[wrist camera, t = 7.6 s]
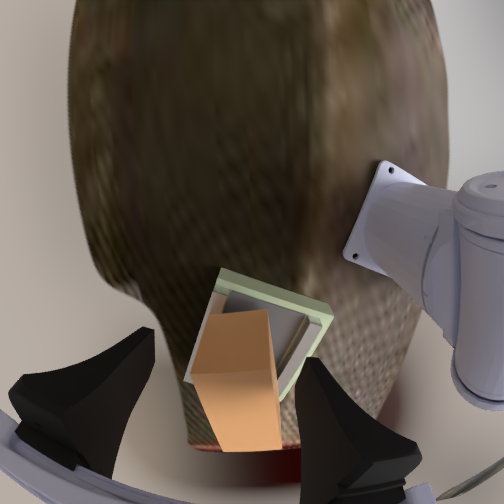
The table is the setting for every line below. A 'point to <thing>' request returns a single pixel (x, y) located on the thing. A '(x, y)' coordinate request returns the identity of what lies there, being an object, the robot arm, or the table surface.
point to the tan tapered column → (239, 381)
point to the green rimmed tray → (272, 321)
